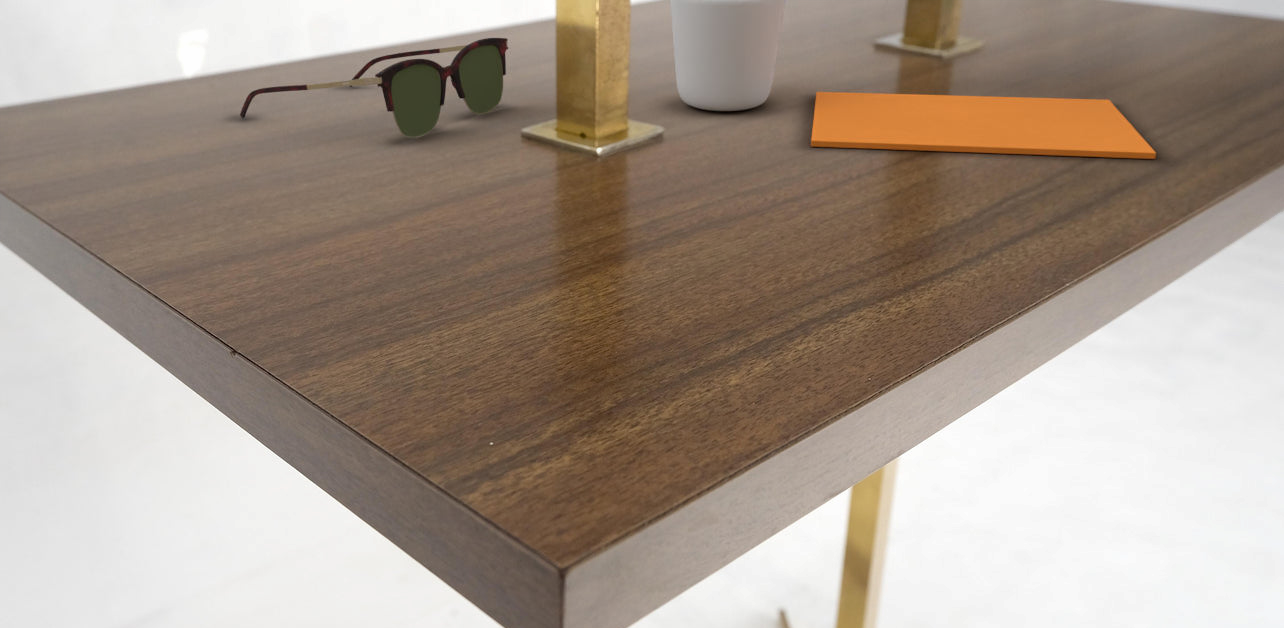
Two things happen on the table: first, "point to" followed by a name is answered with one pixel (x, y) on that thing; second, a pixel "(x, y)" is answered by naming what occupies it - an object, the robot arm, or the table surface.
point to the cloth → (976, 125)
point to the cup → (725, 51)
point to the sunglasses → (428, 83)
